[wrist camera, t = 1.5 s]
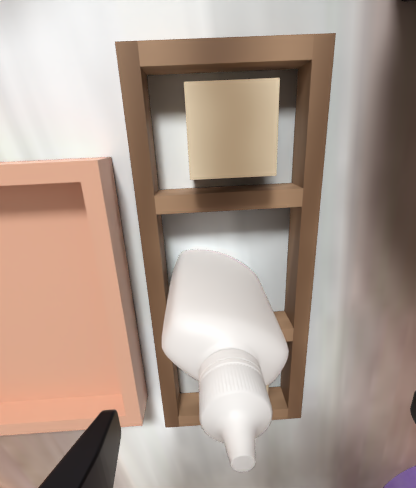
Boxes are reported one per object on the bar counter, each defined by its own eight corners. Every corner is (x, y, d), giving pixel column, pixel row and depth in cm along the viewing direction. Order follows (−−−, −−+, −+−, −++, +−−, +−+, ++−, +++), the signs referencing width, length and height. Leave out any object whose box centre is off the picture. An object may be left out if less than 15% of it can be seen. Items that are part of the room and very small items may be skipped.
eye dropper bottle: (216, 320, 21) (241, 538, 9) (162, 265, 19) (115, 449, 8) (265, 284, 20) (359, 476, 9) (214, 223, 18) (245, 363, 7)
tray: (111, 156, 17) (97, 160, 14) (147, 395, 23) (142, 425, 20) (-142, 169, 16) (-199, 174, 14) (-35, 408, 22) (-62, 440, 20)
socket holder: (318, 46, 15) (335, 33, 13) (292, 395, 23) (300, 417, 22) (124, 53, 15) (114, 41, 13) (168, 404, 23) (165, 427, 21)
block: (259, 92, 16) (279, 77, 12) (258, 167, 17) (276, 175, 13) (186, 95, 16) (183, 81, 12) (191, 170, 17) (190, 179, 13)
